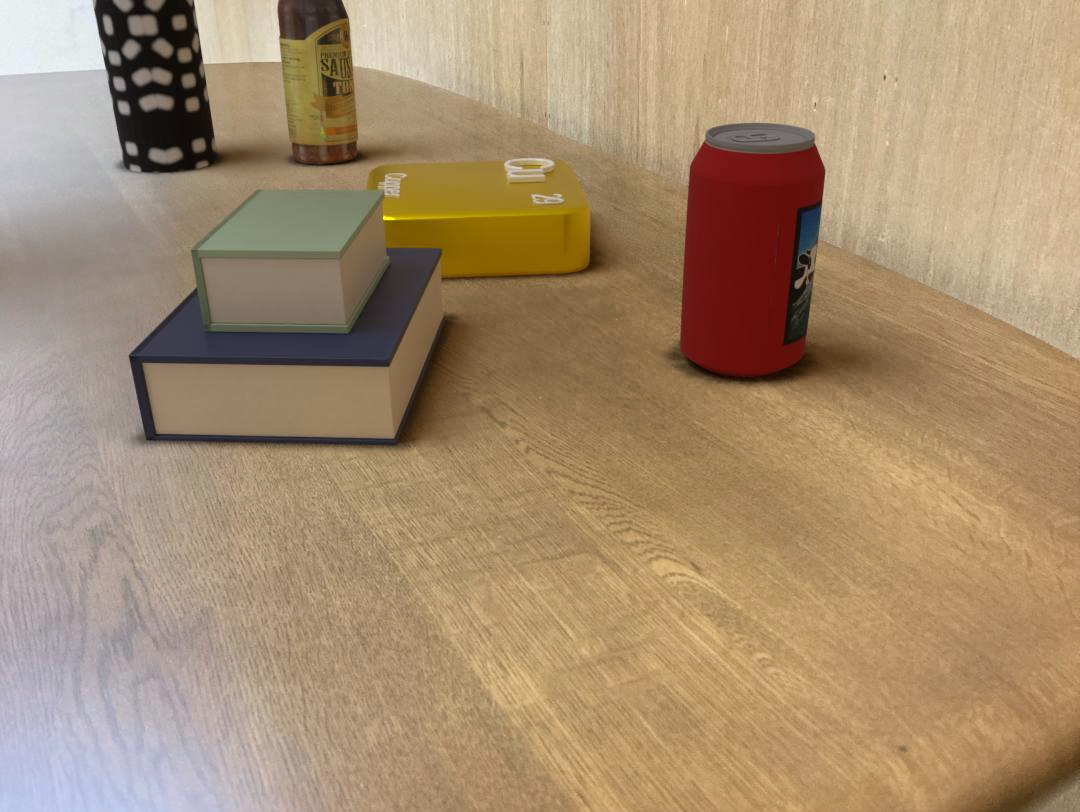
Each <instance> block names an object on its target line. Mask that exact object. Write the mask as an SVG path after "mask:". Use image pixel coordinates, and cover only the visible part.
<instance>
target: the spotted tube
mask: <svg viewBox="0 0 1080 812" xmlns="http://www.w3.org/2000/svg"><path fill="white" fill-rule="evenodd" d="M91 2H92V6H93V12H94V16H95V23H96V27H97V33H98V37H99V42H100V47H101V53H102V58H103V63H104V68H105V74H106V78H107V84H108V89H109V94H110V99H111V106H112V110H113V115H114V121H115V126H116V130H117V136H118V141H119V145H120V146H119V147H120V151H121V157H122V162H123V166H124V168H125V169H127V170H129V171H132V172H139V173H149V174H150V173H151V174H162V173H163V174H165V173H179V172H186V171H192V170H197V169H198V170H199V169H203V168H206V167H209V166H212V165H214V164H215V163H217V162H218V160H219V157H218V150H217V145H216V143H217V142H216V137H215V131H214V124H213V118H212V111H211V105H210V97H209V91H208V85H207V77H206V71H205V70H206V69H205V65H204V60H203V58H204V57H203V50H202V44H201V39H200V32H199V31H200V30H199V25H198V24H199V23H198V18H197V12H196V6H195V0H91Z"/></svg>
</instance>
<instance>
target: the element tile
mask: <svg viewBox="0 0 1080 812" xmlns="http://www.w3.org/2000/svg"><path fill="white" fill-rule="evenodd" d="M367 175H368V176H367V182H366V188H365V190H384V192H385V198H384V199H383V201H382V205H383V218H384V230H385V243H386V248H442V256H441V258H440V266H441V279H455V278H456V279H458V278H460V279H461V278H483V277H486V278H487V277H511V276H535V275H537V276H539V275H559V274H562V275H563V274H571V273H576V272H581V271H583V270H586V269H587V267H588V266H589V265H590V261H591V208H592V207H591V204H590V202H589V200H588V198H587V196H586V193H585V191H584V189H583V187H582V186H581V183H580V181H579V179H578V177H577V175H576V173H575V171H574V169H573V167H572V166H571V165H570V164H568V163H567V162H565V161H564V160H563V159H562V160H561V159H555V158H552V159H551V158H540V157H527V158H525V157H521V158H515V159H514V158H513V159H509V160H480V161H479V160H477V161H449V162H448V161H446V162H445V161H444V162H417V163H416V162H415V163H414V162H413V163H386V164H380V165H377V166H376V167H375V168H373V169H372V170H370V172H368V174H367Z"/></svg>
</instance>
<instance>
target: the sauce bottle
mask: <svg viewBox="0 0 1080 812" xmlns="http://www.w3.org/2000/svg"><path fill="white" fill-rule="evenodd" d="M276 7H277V11H276V12H277V19H278V29H279V36H278V40H279V50H280V62H281V72H282V83H283V91H284V100H285V101H284V102H285V110H286V112H285V113H286V120H287V121H286V122H287V130H288V139H289V140H288V141H289V142H291V151H292V152H291V153H292V157H293V159H294V161H295V162H296V163H300V164H302V165H303V164H304V165H316V166H317V165H318V166H324V165H334V164H341V163H347V162H350V161H353V160H354V159H355V158H356V157H357V154H358V140H359V130H358V118H357V115H358V114H357V105H356V92H355V91H356V89H355V78H354V63H353V52H352V38H351V25H350V24H351V23H350V17H349V15H348V13H347V10H346V9H347V8H346V7H345V5H344V2H343V0H278V1H277V6H276Z"/></svg>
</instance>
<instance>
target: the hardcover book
mask: <svg viewBox="0 0 1080 812" xmlns="http://www.w3.org/2000/svg"><path fill="white" fill-rule="evenodd" d="M384 198H385V192H384V190H366V189H256V190H255V191H254V192H253V193H252V194H250V195H249V196H248V197H247V198H246V199H245V200H244V201H243V202H241V204H240V205H238V206H237V207H236V208H235V209H234V210H233V211H231V213H229V214H228V215H227V216H226V217H225V218H224V219H223V220H222V221H220V222H219V223H218V224H217V225H216V226H215V227H214V228H213V229H212V230H210V232H208V233H207V234H206V235H205V236H203V238H202V239H200V240H199V241H198V242H197V243H196V244H195V245H194V246H193V247H192V248H190V254H191V260H192V266H193V271H194V278H195V285H196V287H197V290H198V296H199V302H200V308H201V314H202V319H203V325H204V331H205V332H268V333H337V334H348V333H349V332H350V330H351V329H352V327H353V325H354V323H355V322H356V320H357V318H358V317H359V315H360V313H361V312H362V310H363V308H364V306H365V305H366V303H367V301H368V300H369V298H370V296H371V294H372V293H373V291H374V289H375V288H376V286H377V284H378V283H379V281H380V279H381V277H382V276H383V274H384V272H385V271H386V269H387V267H388V266H389V264H390V257H389V256H387V255H386V243H385V230H384V218H383V205H382V201H383V199H384Z"/></svg>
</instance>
